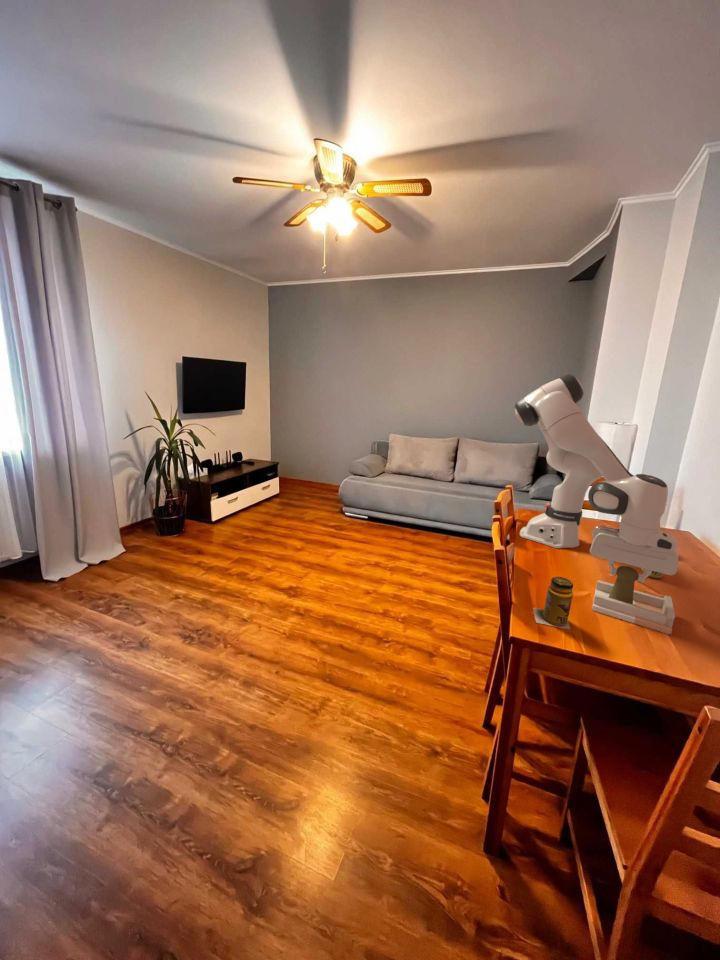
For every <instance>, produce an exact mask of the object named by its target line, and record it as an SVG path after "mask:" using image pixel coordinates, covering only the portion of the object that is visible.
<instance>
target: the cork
mask: <svg viewBox="0 0 720 960" xmlns="http://www.w3.org/2000/svg"><path fill="white" fill-rule="evenodd" d="M638 574H639V572H638V570H637V569H635V568H633V566H629V565H620V566H619V567H617V572H616V579H615V582H614V583H613V584H614V586H613V588H612V591H611V593H610V595H609V597H608V598H611V599H615V600H618V601H622V602H625V603H628V604H632V605H633V594H634V590H635V581H636V582H637V579H638Z"/></svg>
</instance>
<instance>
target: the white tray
mask: <svg viewBox="0 0 720 960" xmlns="http://www.w3.org/2000/svg"><path fill="white" fill-rule="evenodd" d="M614 584H615V583H611V582H606V581H603V580H599V579H597V581H596V585H595V591H594V596H593V601H592V602H593V603H592V608H591V611H593V612H596V613H599V614H602V615H606V616H609V617H612V618H616V619H618V620H621V619H622V620H621V621H625V622H629V623H631V624H634V625H638V626H641V627H644V628H648V629H651V630H653V631H656V630H657V632H659V631H660V633H662V634H667V635H669V634H670V635H669V636H671V635H672V634H673V633H672V632H673V625H674V622H675V618H676V614H675V613H676V612H675V609H674V604H673V600H672V596H670V595H664V596H663V597H661V596H656V595H654V594H649V593H646V592H642V591H639V590H635V589H634V594H633V605H632V604H628V603H625V602H622V601H618V600H615V599H611V598H608V597H609V595H610V593H611V591H612V588H613V586H614Z"/></svg>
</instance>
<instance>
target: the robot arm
mask: <svg viewBox="0 0 720 960" xmlns="http://www.w3.org/2000/svg"><path fill="white" fill-rule="evenodd" d="M583 389H584V388H583V384H582V383H581V381H580V380H579V379H578V378H577V377H575V375H572V374H569V373H568V374H564V375H561V376H558V378H556V379H554V380H552V381H549V382H547V383H544V384H543V385H541V386H540V387H539V388H537V389H535V390H533V391H532V392H530V393H528V394H527V395H526V396H525V397H521V398H520V399H518V401H516V403H515V405H514V413H515V417H516V418H517V420H518V421H519V422H520V423H521V424H523V426H527V427H532V426H535V425H538V427H539V430H540V431H541V433H542V435H543V437H544V440H545V441H546V444H547V446H548V451H547V453H546V457H545V458H546V462H547V465H549V466H550V467H551V468H553V470H555V471H557V472H560V473H562V474H565V476H564V477H565V478H564V480H563V481H562V482H561V483H560V484H558V485H556V486H555V487H554V488H553V493H552V499H551V503H546V504H545V505H544V511H543V513H541V514H538V515H536V516H533V517H532V518H531V519H530V520H528V522H527V524H526V526H523V527H522V528H521V529H520V531H519V536H520V537H521V538H524V539H527V540H530V541H534V542H537V543H539V544H542V545H545V546H548V547H549V546H550V547H551V548H555V549H563V548H565V549H566V548H568V549H570V548H571V549H573V548H578V547H579V546H580V538H579V533H580V532H579V530H580V524H581V523H582V518H583V504H584V501H585V497H586V494H587V492H588V495H587V498H588V502H589V503H588V504H590V506H591V507H592V509H594V510H595V511H597V512H598V513H601V514H606V515H607V514H608V515H614V516H615V515H617V516H620V523H619V528H615V527H609V526H608V527H607V526H605V525H600V526H596V527H594V528H593V529H592V534H591V537H592V539H593V540H592V542H591V546H590V548H589V553H590V554H591V556H593V557H597V558H599V559H605V560H607V564H608V567H609V569H610V572H609V575H612V576H616V577H617V574H616V572H617V569H618V567H617V568H616V567H614V563H615V562H616V563H621V564H624V565H627V566H631V567H635V568H640V569H641V568H643V569H645V573H644V572H643V573H642V574H639V573H638V579H637V580H636V582H638V583H641V584H644V582H645V579H647V578H648V577H649V575H651V573H652V571H655V572H659V573H663V574H664V575H668V576H674V575H676V574H677V572H678V568H679V553H678V551H677V550H678V546H679V543H678V540H677V538H676V537H675V536H673V535H672V534H669V533H667V532H665V531H663V530H661V529H660V528H661V518H662V517H663V515H664V513H665V510H666V507H667V506H666V505H667V501H668V495H669V494H668V492H669V490H668V489H669V488H668V485H667V483H666V482H665V481H663V479H660V478H658V477H656V476H653V475H649V474H645V473H637V474H635V475H634V474H633V473H631V472H630V471H628V469H627V468H626V467H625V465H624V464H623V463H622V462H621V460H620V459H619V458H618V457H617V455H616V454H615V452H614V451H613V450H612V449H611V448H610V446H609V445H608V444H607V443H606V442H605V441H604V439H603V438H602V437H601V436H600V435H599V434H598V432H597V431H596V430H595V429H594V428H593V426H592V425H591V423H590V421H589V420H588V419H587V418H586V416H585V414H584V413H583V411H582V410H581V409H580V407H579V406H578V405H577V403H578V402H580V401H581V400H582V398H583V396H584V390H583ZM602 477H603V479H604V480H603V481H598V482H597V483H595V482H596V481H597V480H599V479H601V478H602ZM593 483H594V484H593ZM592 484H593V485H592ZM591 485H592V486H591ZM588 490H589V491H588Z"/></svg>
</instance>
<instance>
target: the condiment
mask: <svg viewBox="0 0 720 960" xmlns="http://www.w3.org/2000/svg"><path fill="white" fill-rule="evenodd" d="M573 587H574V584H573V581H571V579H568V578H567V577H563V576H553V577H552V578H551V580H550V583H549V586H548V588H547V592H546V598H545V602H544V609H543V608H542V609H541V608H539V607H532V610H533V614H534V615H533V616H534V620H535V622H536V623H537V624H540V625H545V626H546V625H547V626H551V627H555V628H560V629H565V630H571V626H570V624H569V621H568V620H569V615H570V610H571V606H572V600H573V596H574V592H573Z"/></svg>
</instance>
